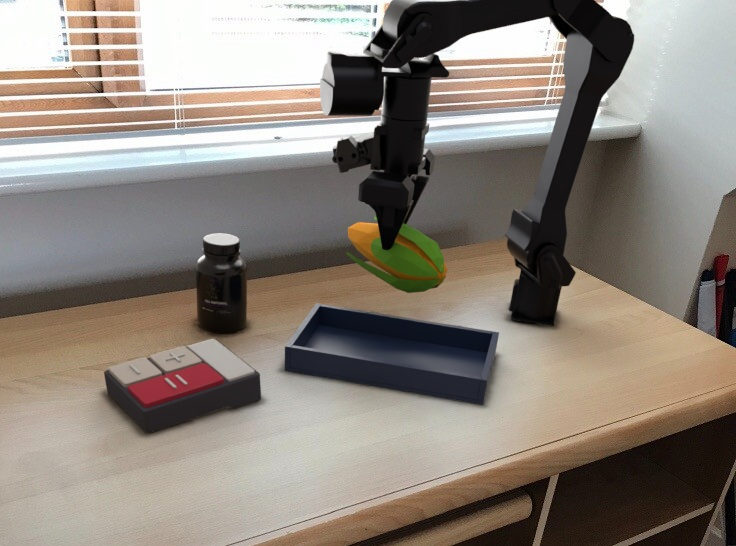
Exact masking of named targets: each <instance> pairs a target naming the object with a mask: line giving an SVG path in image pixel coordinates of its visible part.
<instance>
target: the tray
mask: <svg viewBox="0 0 736 546" xmlns="http://www.w3.org/2000/svg"><path fill="white" fill-rule="evenodd" d="M499 335H500V332H499V331H492V330H486V329H481V328H474V327H468V326H461V325H456V324H450V323H443V322H437V321H431V320H423V319H418V318H413V317H412V318H411V317H406V316H405V317H404V316H399V315H392V314H386V313H380V312H373V311H367V310H361V309H357V308H356V309H355V308H348V307H343V306H336V305H330V304H324V303H317V302H316V303H315V304H314V305H313V307H312V308H311V309H310V311H309V312H308V314H307V315H306V316H305V318H304V319H303V321H302V322H301V323H300V325H299V326H298V327H297V329H296V331H295V332H294V333H293V334H292V336H291V337H290V339H289V340H288V341H287V343H286V344H285V346H284V368H283V369H284V371H285V372H290V373H296V374H302V375H303V374H304V375H308V376H312V377H313V376H314V377H319V378H326V379H331V380H335V381H342V382H348V383H353V384H354V383H355V384H360V385H365V386H370V387H375V388H376V387H378V388H381V389H382V388H383V389H387V390H388V389H389V390H394V391H400V392H405V393H411V394H412V393H413V394H416V395H417V394H418V395H423V396H429V397H434V398H440V399H446V400H451V401H458V402H464V403H470V404H474V405H475V404H476V405H479V406H480V405H481V406H483V405H484V402H485V398H486V394H487V390H488V386H489V381H490V377H491V373H492V369H493V365H494V361H495V357H496V352H497V347H498V341H499Z"/></svg>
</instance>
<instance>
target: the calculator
mask: <svg viewBox="0 0 736 546" xmlns="http://www.w3.org/2000/svg"><path fill="white" fill-rule="evenodd" d="M103 375H104V382H105V387H106V392H107V394H108V396H110V397H111V399H112V400H113V401H115V403H117V405H118V406H119V407H121V409H122V410H123V411H124V412H125V413H126V414H127V415H128V416H129V417H130V418H131V419H132V420H133V421H134V422H135V423H136V424H137V425H138V427H140V428H141V429H142V430H143V431H144V432H145V433H146V434H151V433H154V432H158V431H160V430H163V429H166V428H169V427H172V426H175V425H178V424H181V423H185V422H187V421H189V420H193V419H196V418H199V417H202V416H204V415H205V416H206V415H208V414H211V413H214V412H216V411H219V410H222V409H226V408H232V409H239V408H242V407H244V406H247V405H250V404H253V403H257V402H259V401H261V400H262V387H261V374H260V372H258V371H257V370H256V369H255V368H254V367H252V366H251V365H250V364H249V363H247V362H246V361H244V360H243V359H242V358H240V356H238V355H237V354H236V353H234V352H233V351H232V350H231V349H229V348H228V347H226V346H225V345H224V344H222V343H221V342H220V341H219V340H218V339H216V338H210V339H206V340H203V341H199V342H196V343H193V344H189V345H187V346H185V345H180V346H176V347H174V348H170V349H167V350H164V351H159V352H156V353H153V354H151V355H149V356H148V358H147V357H144V356H143V357H139V358H135V359H132V360H129V361H126V362H122V363H118V364H114V365H111V366H109V367H108V369H107V370H104V371H103Z"/></svg>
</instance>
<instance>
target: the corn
mask: <svg viewBox="0 0 736 546" xmlns="http://www.w3.org/2000/svg"><path fill="white" fill-rule="evenodd" d="M373 220H375V221H376V222H377V217H376V215H374V216H373ZM347 238H348V239H349V241H350V242H351V243H352V245H353V246H354V247H355V249H356V250H357V252H359V254H361V255H362V256H363V257H364V258H366V259H367V260H368V261H370V263H371V264H369V263H367V262H366V261H363V260H362V259H360V258H358V257H357V256H354V255H353V254H351V253H350V252H348V251H346V255H347V257H349V258H350V259H351V260H353V261H354V262H355V263H356V264H357V265H358V266H359V267H361V268H363V269H364V270H365V271H367V272H369V273H370V274H372V275H374V276H375V277H376V278H378V279H380V280H382V281H383V282H385V283H386V284H388V285H390V286H392V288H394V289H396V290H399V291H401V292H404V293H406V294H414V293H425V292H427V291H429V290H432V289H437V288H438V287H439V286H441V285H442V284H443V282H444V280H445V279H446V277H447V272H448V267H447V265H446V264H445V257H444V255H443V253H442V250H441V248H440V246H439V243H438V242H437V241H435V240H434V239H432V238H430V237H428V236H427V235H426V234H424V233H422V232H420V231H419V230H418V229H416V228H414V227H412V226H411V225H408V224H404V223H403V225H402V227H401V229H400V231H399V233H398V235H397V238H396V240H395V242H394V244H393V246H392V248H391V249H389V250H383V249H382V244H381V239H380V233H379V227H378V223H373V222H361V221H357V222H355V223H354V224H352V225H351V226H348V227H347Z"/></svg>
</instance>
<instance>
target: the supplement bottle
mask: <svg viewBox="0 0 736 546" xmlns="http://www.w3.org/2000/svg"><path fill="white" fill-rule="evenodd" d="M240 247H241V241H240V238H238V237H237V236H236V235H233V234H229V233H210V234H207V235H205V236H204V237H202V253H203V255H202V256H200V257H199V259H198V260H197V262H196V264H195V279H196V280H195V282H196V283H195V285H196V318H197V323H198V324H199V326H200V328H202V329H204V330H206V331H208V332H211V333H215V334H230V333H236V332H239V331H241V330H242V329H243V328H244V327H245V326H246V325H247V320H248V319H247V317H248V316H247V315H248V314H247V313H248V312H247V311H248V266H247V263H246V261H245V260H244V258H242V257H241V256H240V255H241V248H240Z"/></svg>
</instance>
